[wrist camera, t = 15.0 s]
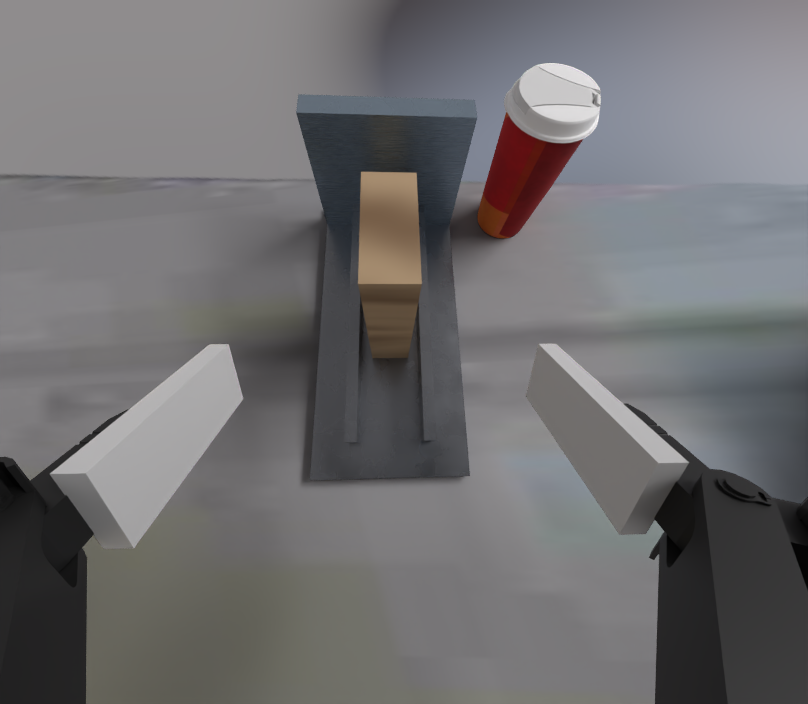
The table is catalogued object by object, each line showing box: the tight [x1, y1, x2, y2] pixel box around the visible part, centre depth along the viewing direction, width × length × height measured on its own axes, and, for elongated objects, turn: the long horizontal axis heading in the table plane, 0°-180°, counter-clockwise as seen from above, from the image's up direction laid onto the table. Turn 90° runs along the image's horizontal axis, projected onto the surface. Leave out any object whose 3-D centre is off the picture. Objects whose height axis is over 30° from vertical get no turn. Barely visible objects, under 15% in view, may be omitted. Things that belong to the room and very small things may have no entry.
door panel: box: [358, 172, 422, 358], centre depth 25 cm, size 8×4×14 cm, turn 1°
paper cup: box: [477, 63, 601, 238], centre depth 30 cm, size 8×8×14 cm
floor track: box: [296, 95, 477, 480], centre depth 26 cm, size 30×14×13 cm, turn 1°
